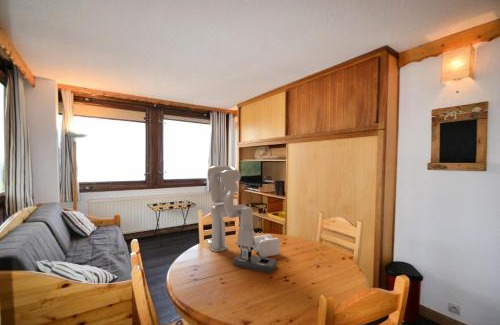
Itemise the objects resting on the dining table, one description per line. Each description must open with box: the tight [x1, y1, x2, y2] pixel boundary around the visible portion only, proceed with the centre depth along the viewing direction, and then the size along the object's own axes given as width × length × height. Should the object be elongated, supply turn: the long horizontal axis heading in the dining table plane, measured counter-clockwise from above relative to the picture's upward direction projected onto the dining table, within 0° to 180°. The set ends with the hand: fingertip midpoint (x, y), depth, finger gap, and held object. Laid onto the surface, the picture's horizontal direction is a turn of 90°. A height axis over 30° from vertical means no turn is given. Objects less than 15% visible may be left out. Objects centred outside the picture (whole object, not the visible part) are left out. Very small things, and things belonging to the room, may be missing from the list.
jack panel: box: [233, 252, 277, 274], centre depth 140 cm, size 24×10×4 cm, turn 65°
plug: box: [242, 246, 250, 260], centre depth 143 cm, size 4×5×11 cm
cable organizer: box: [253, 233, 281, 258], centre depth 159 cm, size 15×11×12 cm
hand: (246, 256), depth 143 cm, fingers closed on plug, 4 cm apart
